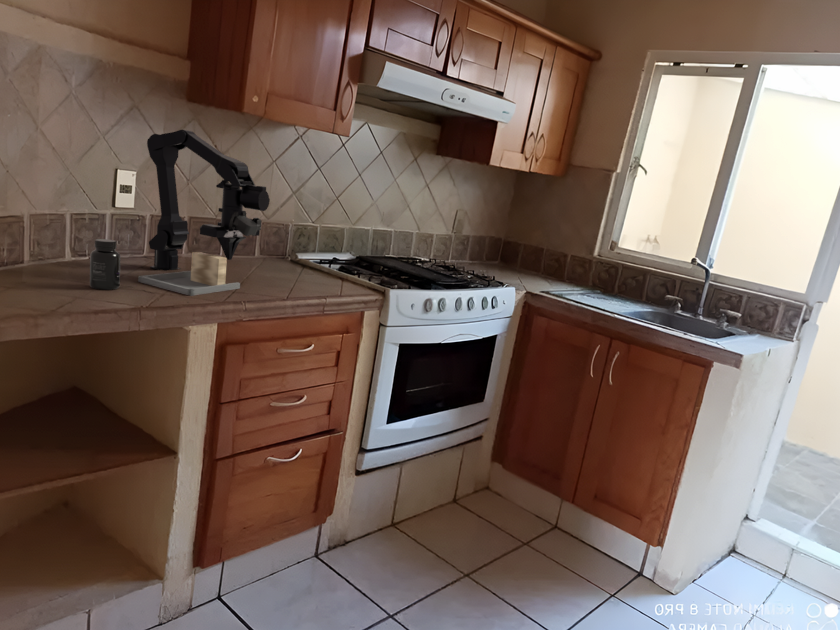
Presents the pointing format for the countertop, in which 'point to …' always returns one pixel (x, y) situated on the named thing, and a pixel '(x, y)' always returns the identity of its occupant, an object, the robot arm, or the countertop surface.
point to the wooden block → (208, 268)
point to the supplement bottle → (105, 265)
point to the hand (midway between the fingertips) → (228, 259)
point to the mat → (184, 283)
